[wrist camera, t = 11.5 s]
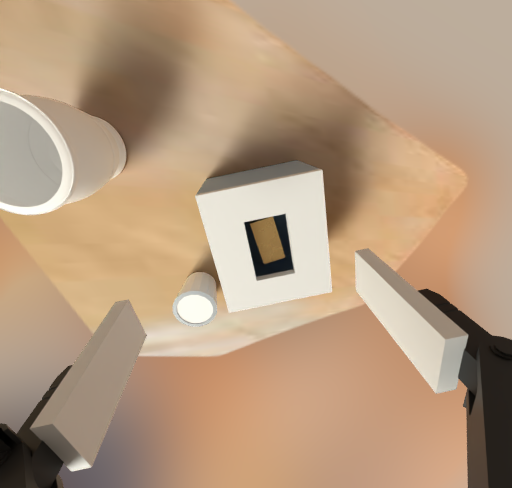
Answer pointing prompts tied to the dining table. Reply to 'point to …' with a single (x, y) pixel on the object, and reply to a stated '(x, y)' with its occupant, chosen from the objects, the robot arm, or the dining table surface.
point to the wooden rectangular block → (267, 239)
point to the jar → (52, 154)
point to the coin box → (288, 226)
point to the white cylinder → (196, 300)
